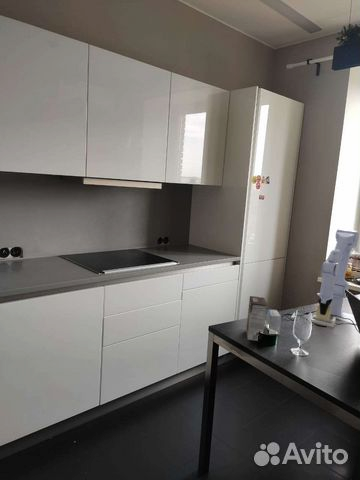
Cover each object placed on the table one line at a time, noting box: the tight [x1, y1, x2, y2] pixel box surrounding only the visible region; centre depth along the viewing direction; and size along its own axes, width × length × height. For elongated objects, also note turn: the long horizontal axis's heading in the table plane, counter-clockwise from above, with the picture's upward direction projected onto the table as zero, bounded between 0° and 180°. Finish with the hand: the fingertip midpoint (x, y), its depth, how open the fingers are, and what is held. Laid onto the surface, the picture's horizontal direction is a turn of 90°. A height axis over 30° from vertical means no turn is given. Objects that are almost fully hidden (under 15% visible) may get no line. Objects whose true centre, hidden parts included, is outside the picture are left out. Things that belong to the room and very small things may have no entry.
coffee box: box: [245, 295, 268, 342], centre depth 151 cm, size 9×6×16 cm
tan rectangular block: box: [315, 302, 332, 320], centre depth 173 cm, size 3×6×6 cm, turn 60°
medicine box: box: [265, 309, 282, 336], centre depth 158 cm, size 8×4×9 cm, turn 179°
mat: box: [290, 311, 313, 319], centre depth 178 cm, size 9×9×1 cm
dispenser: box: [310, 314, 337, 328], centre depth 173 cm, size 7×11×3 cm, turn 60°
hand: (323, 313), depth 173 cm, fingers closed on tan rectangular block, 3 cm apart
